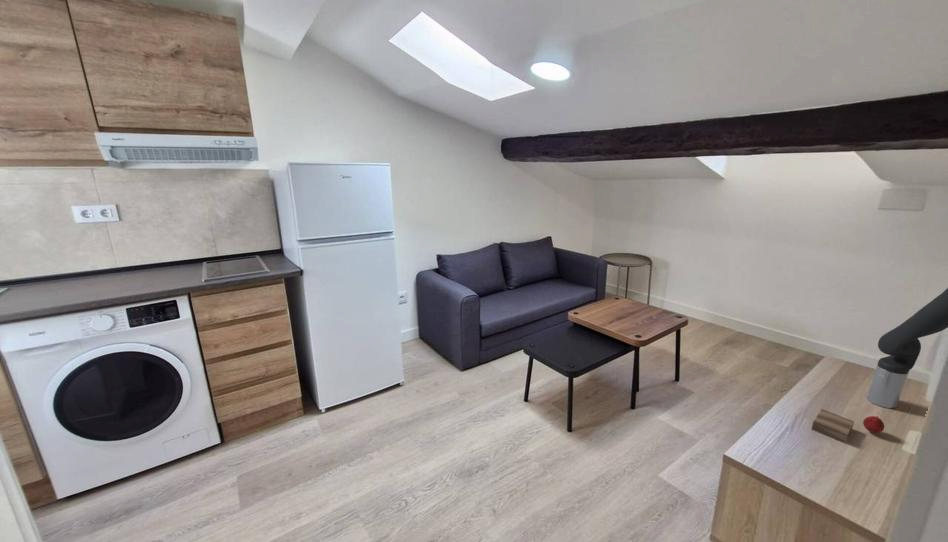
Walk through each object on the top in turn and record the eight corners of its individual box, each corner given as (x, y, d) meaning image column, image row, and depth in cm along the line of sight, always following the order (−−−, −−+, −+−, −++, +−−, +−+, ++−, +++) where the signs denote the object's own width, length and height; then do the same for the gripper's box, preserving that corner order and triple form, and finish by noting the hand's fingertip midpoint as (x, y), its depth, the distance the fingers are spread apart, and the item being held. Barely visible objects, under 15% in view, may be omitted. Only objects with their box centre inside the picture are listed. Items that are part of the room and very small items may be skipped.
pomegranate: (885, 438, 147) (891, 421, 145) (868, 436, 148) (874, 419, 146) (873, 427, 152) (879, 411, 150) (857, 426, 154) (862, 410, 151)
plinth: (819, 416, 160) (821, 409, 158) (851, 429, 152) (854, 421, 151) (811, 429, 153) (813, 421, 152) (844, 443, 145) (847, 434, 144)
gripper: (989, 368, 128) (927, 382, 140) (988, 383, 120) (922, 397, 132) (1009, 388, 125) (944, 401, 137) (1010, 405, 117) (941, 417, 129)
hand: (934, 399), depth 135 cm, fingers open, 8 cm apart
